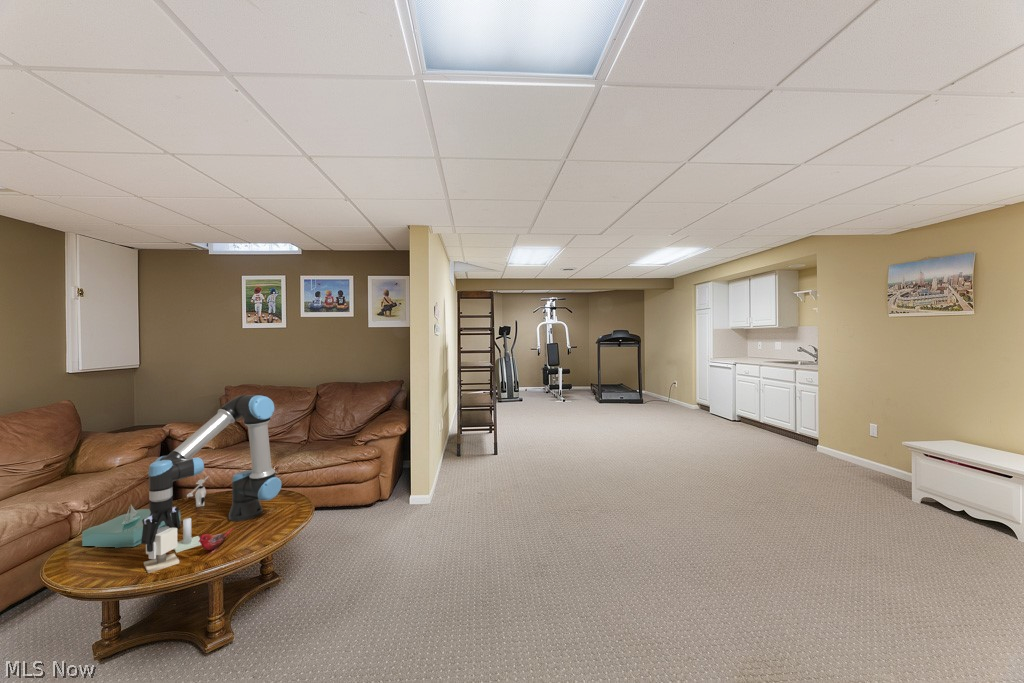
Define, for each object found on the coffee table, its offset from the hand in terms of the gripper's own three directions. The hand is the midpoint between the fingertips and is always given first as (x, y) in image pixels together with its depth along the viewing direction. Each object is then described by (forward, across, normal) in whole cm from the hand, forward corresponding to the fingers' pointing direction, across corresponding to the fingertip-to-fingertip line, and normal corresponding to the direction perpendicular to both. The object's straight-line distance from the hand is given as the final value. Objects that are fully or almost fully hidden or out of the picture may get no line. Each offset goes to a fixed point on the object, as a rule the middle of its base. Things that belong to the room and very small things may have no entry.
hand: (161, 553), depth 177 cm
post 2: (+4, -16, -4) cm, 17 cm away
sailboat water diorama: (+5, -21, -40) cm, 46 cm away
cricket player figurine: (+5, -56, -41) cm, 69 cm away
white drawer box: (-1, 0, 0) cm, 1 cm away
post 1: (+4, 0, 0) cm, 4 cm away
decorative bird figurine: (+5, -14, +13) cm, 19 cm away
